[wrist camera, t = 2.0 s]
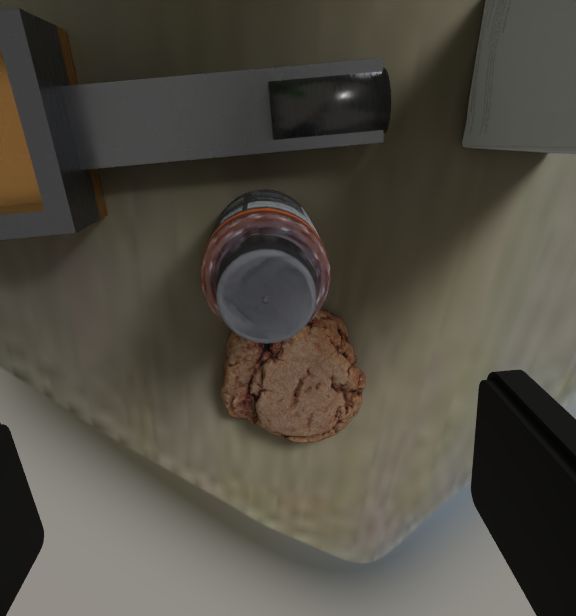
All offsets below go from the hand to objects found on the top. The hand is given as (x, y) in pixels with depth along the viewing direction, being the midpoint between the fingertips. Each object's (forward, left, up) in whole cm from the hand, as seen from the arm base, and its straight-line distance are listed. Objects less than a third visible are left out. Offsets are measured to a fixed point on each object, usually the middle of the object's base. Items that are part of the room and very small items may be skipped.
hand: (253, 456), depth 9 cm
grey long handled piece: (+6, -7, -21) cm, 23 cm away
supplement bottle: (0, 0, -21) cm, 21 cm away
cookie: (-1, +10, -21) cm, 23 cm away
